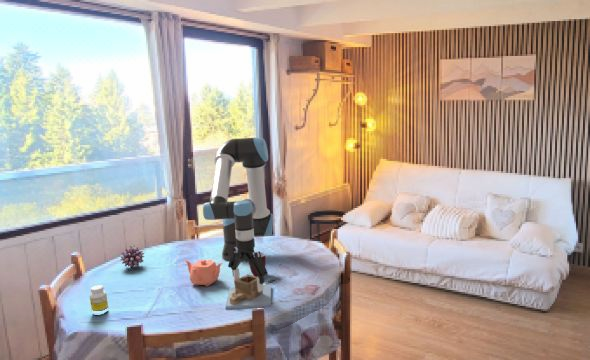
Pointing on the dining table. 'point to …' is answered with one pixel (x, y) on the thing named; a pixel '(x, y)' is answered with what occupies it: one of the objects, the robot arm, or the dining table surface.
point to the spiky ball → (132, 256)
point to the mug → (252, 266)
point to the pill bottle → (98, 298)
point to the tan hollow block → (245, 289)
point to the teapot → (203, 272)
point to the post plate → (256, 302)
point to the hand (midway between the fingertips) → (248, 287)
